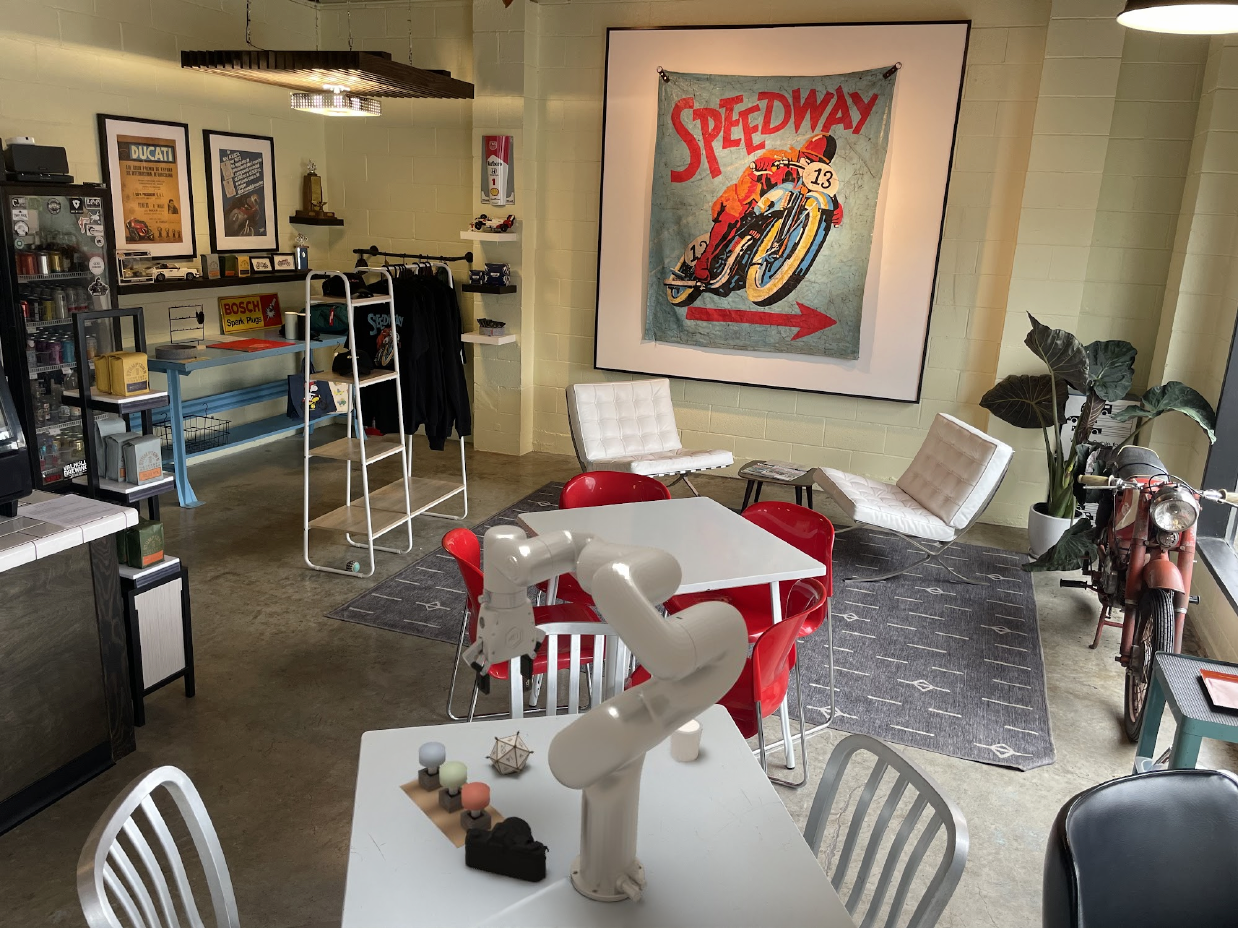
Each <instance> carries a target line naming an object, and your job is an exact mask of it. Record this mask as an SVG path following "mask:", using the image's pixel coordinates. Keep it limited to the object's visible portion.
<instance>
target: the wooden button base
mask: <svg viewBox="0 0 1238 928" xmlns="http://www.w3.org/2000/svg"><path fill="white" fill-rule="evenodd" d="M440 767H441V765H440V766H438V767H437V772H436V773H435V774H429V773H428V768H427V767H424V768H421V769H419V770H417V776H418V778H417V779H414V780H412V781H409V782H407V783H405V784H402V785H399V788H400V789H401V791H403V792H404V793H405V794H406V795H407V797H409V798H410V799H411V800H412V801H413V803H414V804H415V805H417V807H418V808H419V809H420V810H421V811H422V812H423V813H424V815H426V816H427V818H428V819H429V820H430V821H431V822H432V823H433V824H434V825H435V826H436V827H437V829H439V830H440V831H441V833H442V834H444V835H445V836H446V838H447V839H448V840H449V841H450V842H451V843H452V844H453V845H454V846H455V847H456V849H458V848H459V849H460V847H463V846H465V837H466V835H467V834H466V833H467V830H468V829H473V828H478V829H482V830H487V831H491V830H492V829H493V827H494V826H495V824H496V823H497V822H503V821H504V820H505V819H506V818H505V817H504V816H503V815H502V814H501V813H500V812H499V811H498V810H497V809H496V808H494V807H493V806H492V805H491V804H490V803H489V805H488V806H487V807H486V808H484V809H482V810H480V816H479V817H472V816H471V810H467V809H465V808H464V807H463V806H462V788H463V787H464V786H465V785H467V784H469V782H468V781H467V782H466V783H465V784H464V785H463V786H461V787H459V788H458V793H457V794H456V795H450V794H449V788H445V787H443V786H442V785H441V784H440V777H439V769H440Z"/></svg>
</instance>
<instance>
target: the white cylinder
mask: <svg viewBox="0 0 1238 928" xmlns="http://www.w3.org/2000/svg"><path fill="white" fill-rule="evenodd" d="M703 726H704V725H703V724H702V721H700V720H699V719H697V718H696V717H695V718H694V719H693V720H691V721H690V722H688V723H687V724H685V725H683V726H682V727H680V728H679V729H677V730H676V731H674V732H673V733H672V734H671V735H670V736H669V738H670V755H671V757H672V758H673V759H675V760H676V761H679V762H686V763H687V762H688V763H689V762H693V761H695V760H697V758H698V756H699V755H698V754H699V751H700V750H699V748H700V745H701V744H700V743H701V738H702V733H703Z"/></svg>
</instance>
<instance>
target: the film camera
mask: <svg viewBox="0 0 1238 928" xmlns="http://www.w3.org/2000/svg"><path fill="white" fill-rule="evenodd" d="M466 834H467V835H466V837H465V845H464V851H465V855H464V857H465V858H464V860H465V861H464V862H465V866H466V867H467V868H470V869H473V870H477V871H479V872H480V871H481V872H484V873H489V874H493V875H498V876H502V877H506V878H510V879H515V880H520V881H525V882H530V883H539V882H541V881H543V880H544V879H546V878H547V877H546V876H547V856H546V855H547V854H546V851H547V853H549V852H550V849H549V848H548V845H544V843H543V842H541V841H538V840H534V836H533V835H532V827H531V826H530V825H529V823H528V822H527V821H525V819H523V818H521V817H518V816H509V817H506V818H505V820H504V821H503V822H497V823H496V824H495V826H494V827H493V829H492V830H491V831H487V830H482V829H478V828H473V829H468V830H467V833H466Z"/></svg>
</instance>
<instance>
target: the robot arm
mask: <svg viewBox="0 0 1238 928" xmlns="http://www.w3.org/2000/svg"><path fill="white" fill-rule="evenodd" d="M483 535H484V536H483V589H482V594H481V595H478V597H477V600H478V603H479V604H480V607H479V613H478V620H477V626H476V627H477V628H476V641H474V642H473V643H472V644H471V645H470V646H469V647H468V648H467V649H466V650H465V651H464V652H463V653H462V655H461V657H462V658H463V660H464V661H465V663H466V664H467V666H469V667H470V668H471V669H473V670H474V671H476V672H475V675H476V677H475V679H476V681H475V682H476V688H477V689H478V691H480V692H482V693H483V694H484V695H485V696H487V695H490V693H491V687H490V686H491V674H489V673H488V671H489V669H490V668H491V667H492V665H494V664H499V663H503V662H507V661H509V660H513V659H516V658H518V657H519V674H520V675H521V676H522V677H523V678H525V679H526V680H528V681H532V680H533V677H534V676H533V675H534V674H533V672H534V660H535V659H536V658H537V653H538V651H539V650H540V649H541V647H542V643H543V641H544V640H545V637H546V635H547V631H545V630H544V629H541V628H539V627H536V624H535V616H534V615H535V614H534V609H533V604H532V601H531V599H530V598H529V597H527V596H528V595H527V593H528V592H527V591H528V589H527V587H531V586H534V585H536V584H539V583H542V582H544V581H546V580H549V579H552V578H555V577H558V576H560V575H564V574H567V573H575V572H576V578H577V582H578V584H579V587H580V588H581V589H582V591H584V593H585V592H586V593H587V594H589V595H591V598H592V600H593V602H594V605H595V607H596V609H597V610H598V612H599V613H600V615H601V616H602V618H603V619H604V620H605V621H606V623H607V624H608V625H609V627H610V628H611V630H613V632H614V633H615V634H616V636H618V638H619V640H621V641H622V643H623V644H624V645H625V647H626V648H627V649H628V651H630V653H631V654H632V656H633V657H634V658H635V659H636V660H637V661H638V663H639V664H640V665H641V666H642V668H644V670H646V672H647V673H649V674H650V675H651V676H652V677H651V678H648V679H647V680H646V681H644V682H642V683H640V684H638V685H635V686H632V687H630V688H628V689H626V690H624V691H622V692H619V693H618V694H616V695H615V696H612V697H611V698H608V699H606V700H605V701H602V702H601V703H599V704H597V705H596V706H594V707H592V708H590V709H589V710H588V711H586V712H585V713H584V714H582V715H580V717H578V718H577V719H575V720H574V721H572V722H571V723H569V724H568V725H567V726H565V727H564V728H562V729H561V730H559V731H558V732H557V733H556V734H555V735H554V737H553V738H552V739H551V742H550V744H549V748H548V752H547V761H548V766H549V769H550V773H551V774H552V776H553V777H554V779H555V780H556V781H557V782H558V783H560V784H561V785H562V786H564V787H566V788H568V789H570V790H575V791H576V790H578V791H579V790H580V791H581V808H580V809H581V810H580V811H581V812H580V813H581V814H580V844H579V854H577V856H576V857H575V858H574V859H573V861H572V862H571V865H570V874H569V875H570V876H569V877H570V880H571V881H570V882H571V884H572V886H573V887H574V888H575V889H576V890H577V891H578V892H579V893H580V894H582V895H584V896H586V897H587V898H589V899H593V900H595V901H599V902H600V901H601V902H616V901H620V900H621V901H622V900H625V899H627V898H629V899H630V900H632V902H638V901H639V900H640V899H641V897H642V893H643V892H642V890H644V889H646V888H647V887H648V882H647V881H646V880H645V868H644V865H643V862H641V860H640V858H638V857H637V843H638V841H637V840H638V825H639V824H638V823H639V821H638V820H639V805H640V803H639V802H640V792H641V791H640V790H641V779H642V772H643V766H644V763H645V759H646V755H647V752H649V751H651V750H652V749H654V748H656V747H657V746H659V745H660V744H662V743H663V742H664V741H665V740H666V739H667V738H669V737H670V735H671V734H672V733H673V732H674V731H676V730H677V729H679V728H680V727H682V726H683V725H685V724H687V723H688V722H690V721H691V720H693V719H694V718H695V719H696V718H697V717H698V716H700V715H701V714H703V713H704V712H706V711H707V710H709V709H710V708H711V707H713V706H714V705H715V704H717V703H718V702H719V701H720V700H721V699H722V698H723V697H724V696H725V695H726V694H727V693H728V692H729V691H730V690H731V689H732V688H733V686H734V685H735V683H736V682H737V681H738V679H739V678H740V676H741V674H742V672H743V671H744V667H745V665H746V662H747V658H748V651H749V634H748V628H747V624H746V620H745V619H744V617H743V615H742V613H741V612H740V611H739V610H738V609H737V608H736V607H735V606H733V605H732V604H729V603H727V602H724V601H718V600H714V601H713V600H711V601H710V600H709V601H703V602H700V603H697V604H693V605H692V606H689V607H687V608H684V609H682V610H680V611H677V612H676V613H673V614H671V615H669V616H667V617H665V618H664V616H663V615H662V614H661V612H659V610H658V609H657V608H656V606H659V605H661V604H663V603H665V602H666V601H668V600H670V599H671V598H672V597H673V596H674V595H675V594H676V593H677V591H678V590H679V588H680V586H681V582H682V579H683V578H682V577H683V575H682V574H683V573H682V572H683V571H682V568H681V565H680V563H679V561H678V559H677V558H676V557H675V556H674V555H673V554H671V552H669V551H665V550H664V549H659V548H656V547H650V546H639V545H632V544H631V545H630V544H622V543H615V542H614V543H613V542H605V540H604V539H602V537H601V536H599V535H597V534H596V533H595V532H591V531H584V530H573V529H559V530H558V529H557V530H552V531H549V532H546V533H543V534H540V535H537V536H533V537H529V538H528V536H527V533H526V531H525V530H524V529H523V528H521V527H519V526H516V525H510V524H508V525H507V524H501V525H495V526H492V527H490V528H488V529H487V530H486V531H485V533H484V534H483ZM476 655H478V656H477V659H475V657H476Z"/></svg>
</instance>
